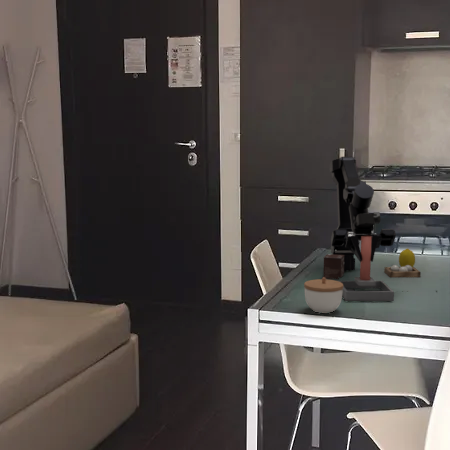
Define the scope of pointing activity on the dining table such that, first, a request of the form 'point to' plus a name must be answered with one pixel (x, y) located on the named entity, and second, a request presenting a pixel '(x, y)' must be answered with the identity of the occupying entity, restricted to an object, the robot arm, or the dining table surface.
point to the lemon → (406, 258)
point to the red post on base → (365, 263)
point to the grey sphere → (394, 268)
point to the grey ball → (403, 269)
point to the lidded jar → (323, 294)
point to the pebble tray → (402, 273)
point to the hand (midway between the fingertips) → (366, 261)
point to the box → (333, 266)
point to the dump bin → (367, 292)
